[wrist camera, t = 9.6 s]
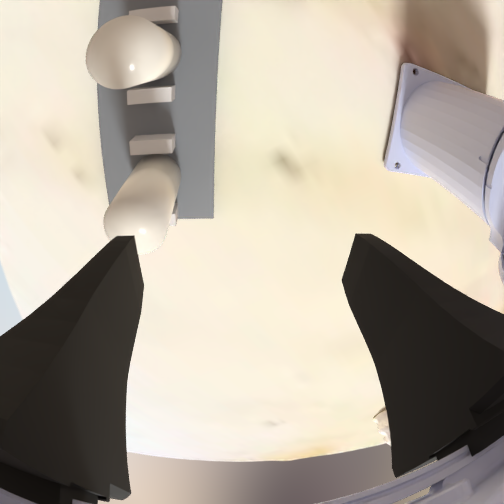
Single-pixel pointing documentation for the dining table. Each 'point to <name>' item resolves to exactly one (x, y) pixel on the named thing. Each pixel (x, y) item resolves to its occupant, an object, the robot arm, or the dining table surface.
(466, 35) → the dining table surface
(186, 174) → the fuse panel
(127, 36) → the fuse middle
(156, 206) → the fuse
